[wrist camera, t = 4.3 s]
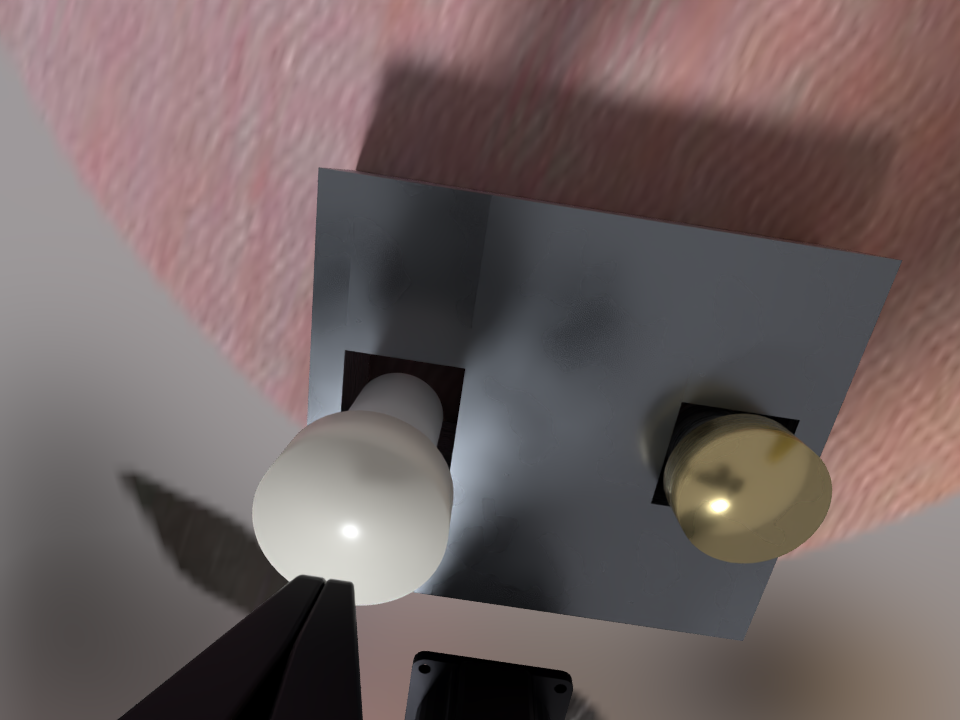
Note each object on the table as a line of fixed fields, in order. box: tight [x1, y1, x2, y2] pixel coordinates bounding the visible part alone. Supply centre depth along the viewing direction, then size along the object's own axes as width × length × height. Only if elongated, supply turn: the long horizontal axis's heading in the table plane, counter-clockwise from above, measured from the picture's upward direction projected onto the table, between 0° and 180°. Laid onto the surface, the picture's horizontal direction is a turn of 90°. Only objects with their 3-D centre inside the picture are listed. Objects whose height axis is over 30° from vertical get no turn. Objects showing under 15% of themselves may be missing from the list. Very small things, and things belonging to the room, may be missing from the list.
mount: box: [307, 168, 902, 641], centre depth 16 cm, size 12×14×3 cm
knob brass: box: [663, 402, 832, 563], centre depth 15 cm, size 4×4×5 cm
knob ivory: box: [252, 373, 454, 605], centre depth 12 cm, size 4×4×5 cm
